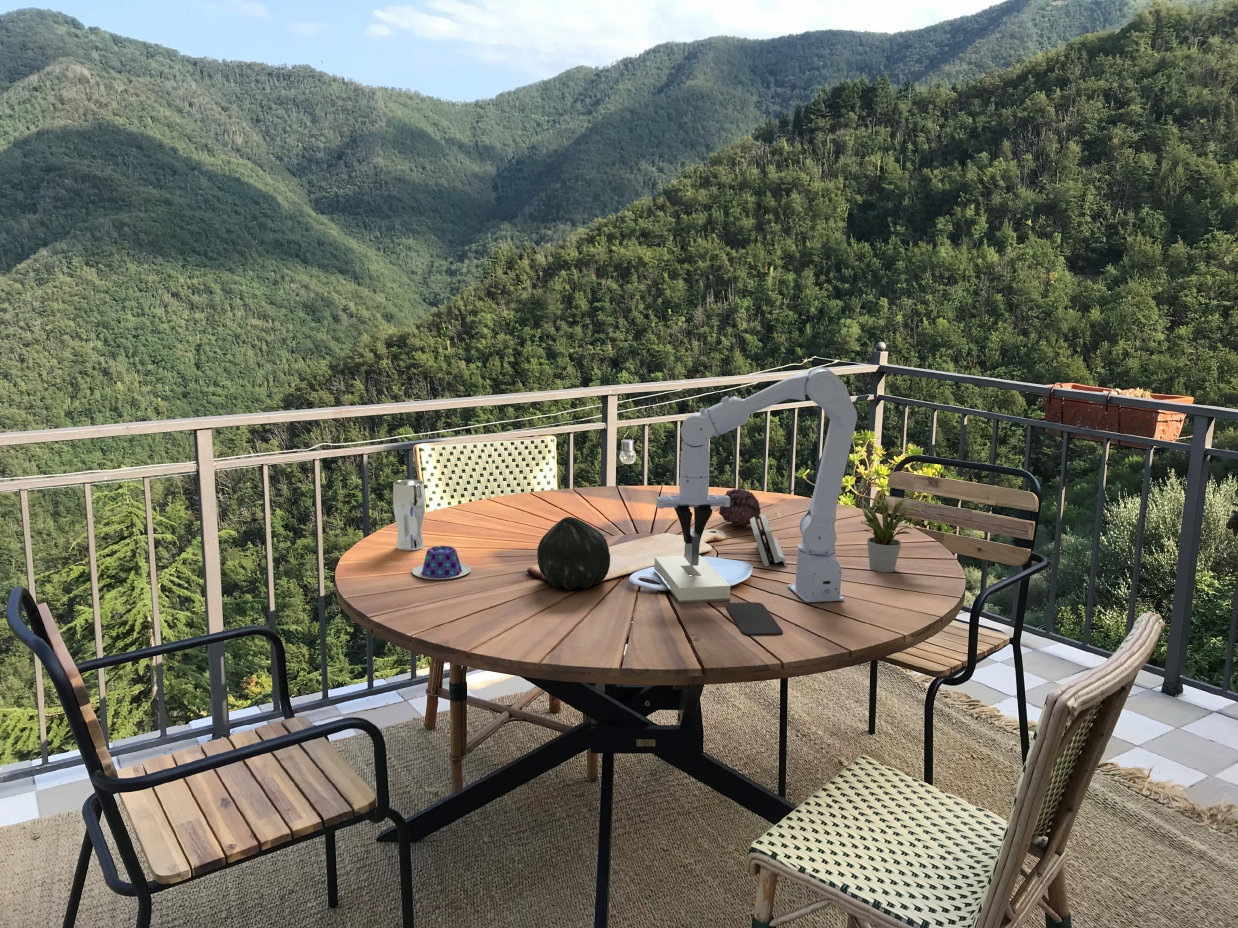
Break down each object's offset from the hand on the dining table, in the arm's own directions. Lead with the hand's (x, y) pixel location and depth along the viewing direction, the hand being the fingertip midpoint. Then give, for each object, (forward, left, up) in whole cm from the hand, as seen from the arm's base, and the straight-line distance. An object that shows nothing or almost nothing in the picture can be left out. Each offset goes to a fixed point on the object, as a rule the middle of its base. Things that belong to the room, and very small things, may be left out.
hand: (691, 542), depth 173 cm
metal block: (0, 0, -4) cm, 4 cm away
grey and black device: (+18, -23, -9) cm, 31 cm away
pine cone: (+42, -25, -9) cm, 50 cm away
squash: (+4, +23, -9) cm, 25 cm away
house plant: (+5, -46, -9) cm, 47 cm away
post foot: (0, 0, -9) cm, 9 cm away
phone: (-20, -6, -10) cm, 23 cm away
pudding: (+15, +49, -10) cm, 52 cm away
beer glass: (+34, +56, -9) cm, 66 cm away
